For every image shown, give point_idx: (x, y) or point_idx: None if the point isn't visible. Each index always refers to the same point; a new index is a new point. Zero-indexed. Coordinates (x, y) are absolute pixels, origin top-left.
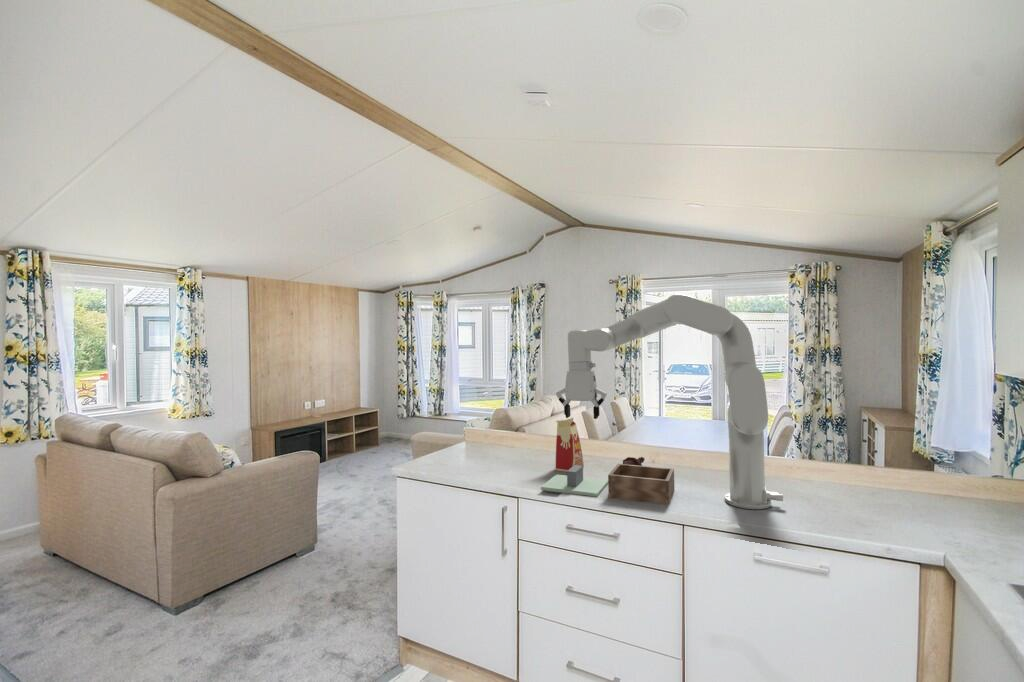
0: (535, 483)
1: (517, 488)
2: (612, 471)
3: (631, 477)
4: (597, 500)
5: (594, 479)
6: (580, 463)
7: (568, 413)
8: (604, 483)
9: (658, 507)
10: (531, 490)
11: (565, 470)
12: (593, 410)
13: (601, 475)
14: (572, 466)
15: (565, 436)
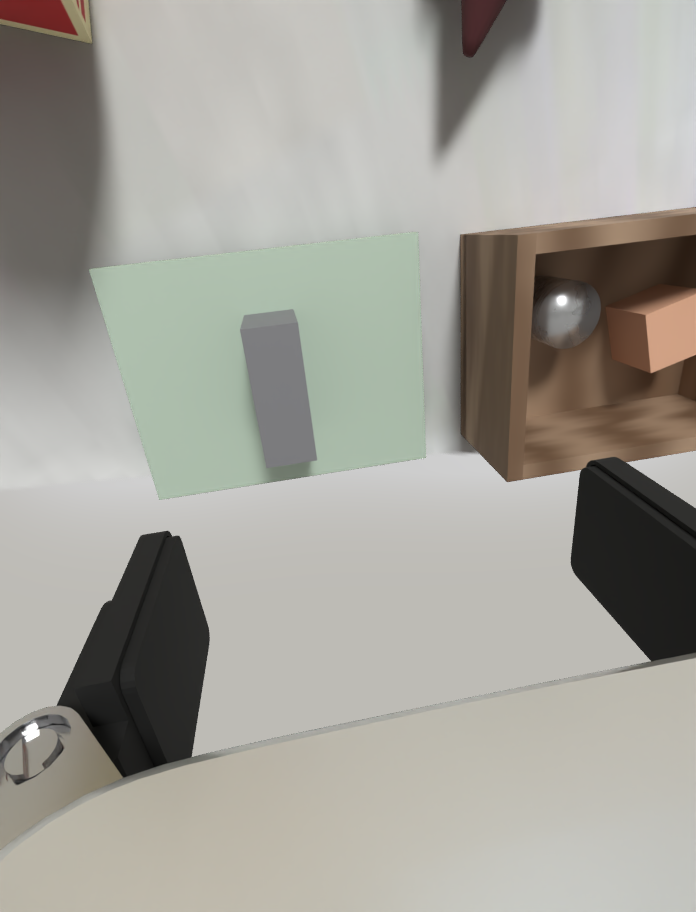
0: (41, 379)
1: (24, 487)
2: (516, 418)
3: None
4: None
5: (342, 260)
6: None
7: (193, 649)
8: (413, 306)
9: None
10: (104, 479)
11: (18, 25)
12: (644, 651)
13: (298, 12)
14: (67, 13)
15: None
